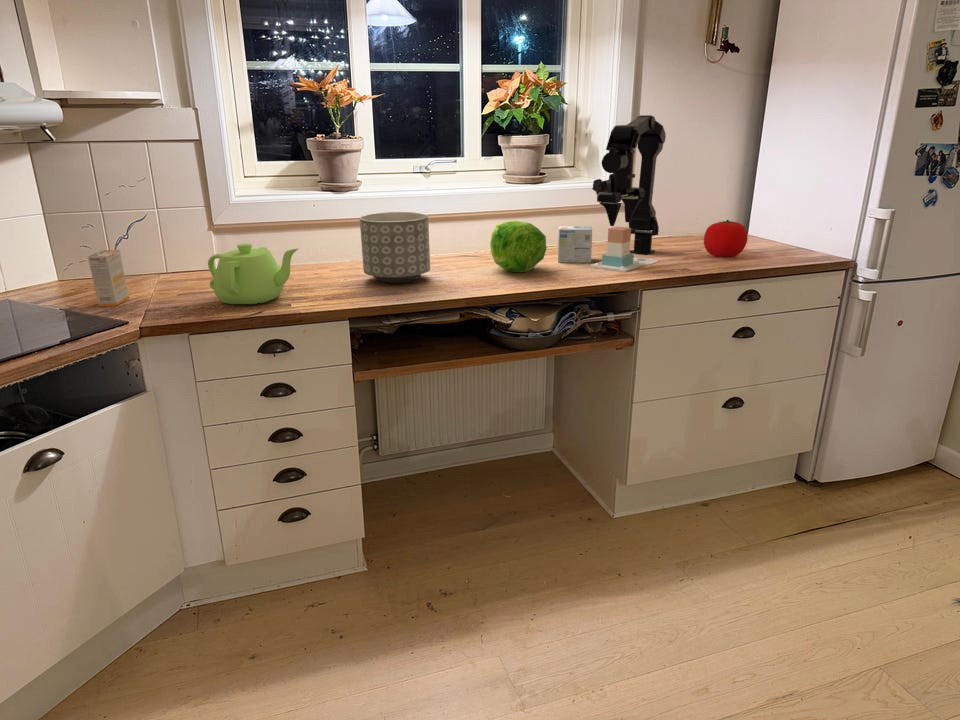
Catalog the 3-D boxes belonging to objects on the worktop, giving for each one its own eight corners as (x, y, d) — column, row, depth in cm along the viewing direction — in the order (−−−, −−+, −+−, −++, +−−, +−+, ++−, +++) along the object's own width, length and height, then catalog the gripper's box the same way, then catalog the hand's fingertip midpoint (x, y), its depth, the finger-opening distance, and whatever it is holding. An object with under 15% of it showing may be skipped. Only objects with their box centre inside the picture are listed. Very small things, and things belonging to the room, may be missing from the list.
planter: (403, 269, 208) (399, 209, 202) (444, 279, 195) (442, 215, 189) (351, 280, 196) (346, 217, 190) (391, 291, 183) (387, 224, 177)
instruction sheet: (630, 257, 221) (630, 256, 221) (658, 261, 215) (659, 260, 215) (619, 261, 216) (619, 260, 216) (648, 265, 210) (648, 264, 210)
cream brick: (614, 252, 211) (615, 239, 210) (629, 254, 208) (630, 241, 207) (606, 254, 208) (607, 241, 206) (621, 256, 205) (622, 243, 203)
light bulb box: (590, 258, 220) (592, 225, 217) (591, 263, 214) (593, 228, 210) (557, 258, 221) (558, 225, 218) (557, 262, 215) (558, 228, 211)
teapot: (204, 298, 180) (196, 243, 175) (277, 286, 191) (271, 234, 186) (227, 313, 166) (219, 254, 161) (305, 299, 177) (299, 244, 172)
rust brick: (615, 239, 210) (616, 226, 209) (630, 241, 207) (631, 227, 206) (607, 241, 206) (608, 228, 205) (622, 243, 203) (623, 230, 202)
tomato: (717, 261, 214) (721, 224, 210) (695, 253, 226) (698, 218, 222) (753, 259, 217) (758, 222, 213) (729, 251, 229) (733, 216, 225)
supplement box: (111, 298, 180) (101, 249, 175) (129, 298, 180) (120, 249, 176) (97, 307, 172) (86, 256, 168) (117, 306, 172) (106, 255, 168)
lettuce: (526, 269, 217) (530, 221, 214) (552, 276, 199) (556, 223, 195) (477, 267, 212) (480, 217, 209) (498, 274, 193) (502, 220, 190)
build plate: (610, 260, 217) (610, 249, 216) (644, 265, 210) (645, 253, 209) (590, 266, 209) (590, 255, 207) (625, 272, 201) (625, 260, 200)
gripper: (614, 167, 211) (611, 218, 216) (582, 171, 198) (580, 225, 203) (647, 168, 204) (643, 221, 210) (616, 173, 191) (613, 229, 196)
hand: (619, 224), depth 205 cm, fingers open, 9 cm apart
